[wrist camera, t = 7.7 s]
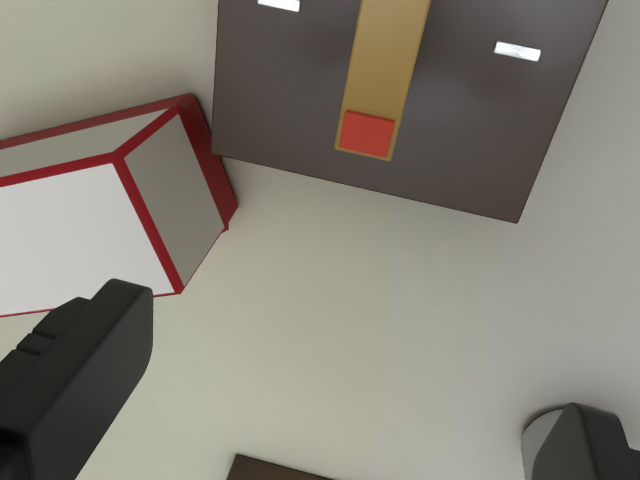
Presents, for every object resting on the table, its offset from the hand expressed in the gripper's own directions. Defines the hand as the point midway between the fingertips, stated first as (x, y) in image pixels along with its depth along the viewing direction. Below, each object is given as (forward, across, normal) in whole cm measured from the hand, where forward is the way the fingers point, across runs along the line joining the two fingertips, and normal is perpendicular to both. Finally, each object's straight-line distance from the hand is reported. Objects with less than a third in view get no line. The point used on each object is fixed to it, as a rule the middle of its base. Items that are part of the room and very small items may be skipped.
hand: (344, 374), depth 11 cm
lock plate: (+13, +1, -3) cm, 14 cm away
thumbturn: (+11, +1, -4) cm, 12 cm away
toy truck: (+14, +14, +6) cm, 20 cm away
